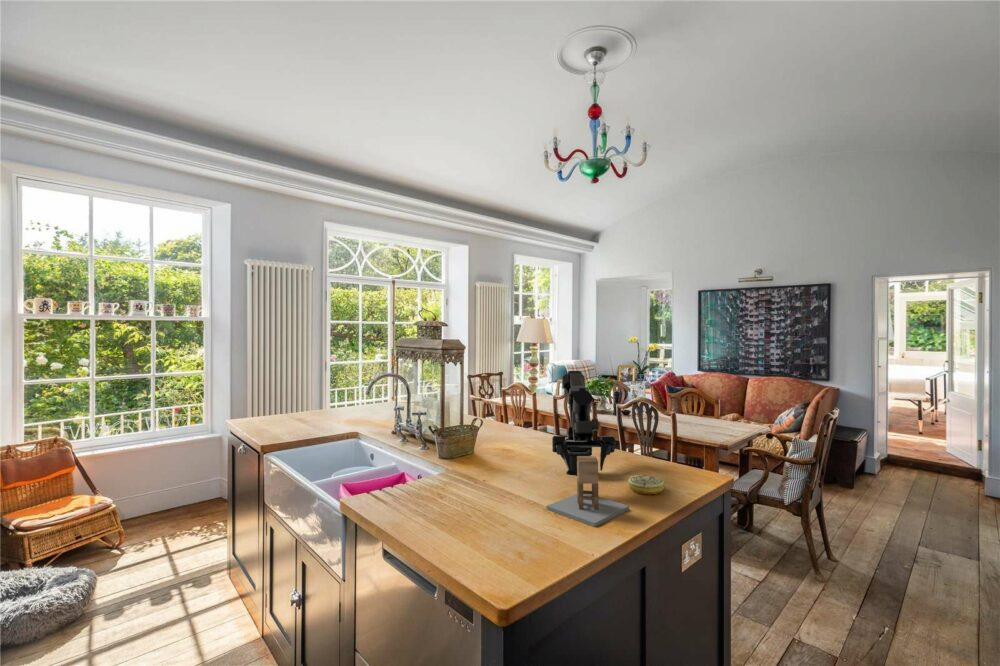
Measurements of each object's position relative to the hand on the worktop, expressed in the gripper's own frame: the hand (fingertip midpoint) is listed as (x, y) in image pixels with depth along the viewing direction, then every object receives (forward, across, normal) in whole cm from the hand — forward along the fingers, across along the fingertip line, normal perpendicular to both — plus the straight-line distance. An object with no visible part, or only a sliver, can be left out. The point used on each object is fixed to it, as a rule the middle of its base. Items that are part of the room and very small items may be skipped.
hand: (585, 469), depth 135 cm
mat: (+12, 0, 0) cm, 12 cm away
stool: (+11, 0, 0) cm, 11 cm away
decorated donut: (0, +19, +13) cm, 23 cm away
